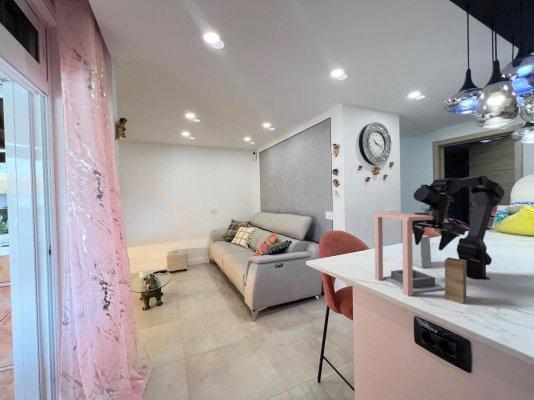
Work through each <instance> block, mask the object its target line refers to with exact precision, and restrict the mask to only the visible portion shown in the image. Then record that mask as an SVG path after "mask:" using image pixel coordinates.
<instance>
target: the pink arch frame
mask: <svg viewBox="0 0 534 400" xmlns="http://www.w3.org/2000/svg"><path fill="white" fill-rule="evenodd" d="M373 217H374V265H375V266H374V267H375V268H374V270H375V271H374V272H375V273H374V274H375V275H374V276H375V278H374V279H375V280H377V281H384V279H383V277H384V263H383V262H384V258H383V257H384V254H383V253H384V247H383V245H384V244H383V243H384V242H383V239H384V237H383V218H384V219H392V220H399V221H400V220H401V222H402V224H401V225H402V227H401V228H402V230H401V231H402V270H403V289H402V294H403V295H405V296H407V297H412V296H413V295H414V294H413V267H414V265H413V257H412V234H413V230H412V221H413V220H433V216H426V215H415V214H413V213H405V212H404V213H403V212H402V213H401V212H380V213H379V212H375V213H373Z"/></svg>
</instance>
